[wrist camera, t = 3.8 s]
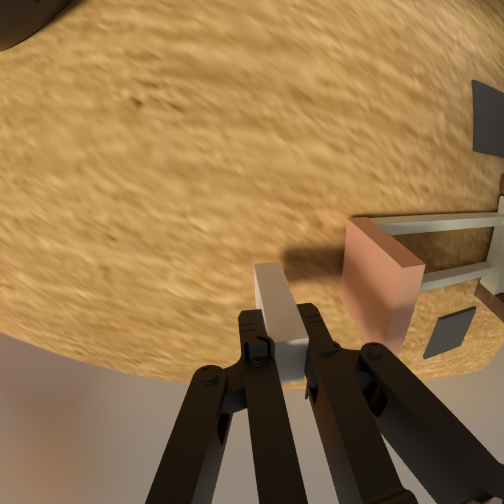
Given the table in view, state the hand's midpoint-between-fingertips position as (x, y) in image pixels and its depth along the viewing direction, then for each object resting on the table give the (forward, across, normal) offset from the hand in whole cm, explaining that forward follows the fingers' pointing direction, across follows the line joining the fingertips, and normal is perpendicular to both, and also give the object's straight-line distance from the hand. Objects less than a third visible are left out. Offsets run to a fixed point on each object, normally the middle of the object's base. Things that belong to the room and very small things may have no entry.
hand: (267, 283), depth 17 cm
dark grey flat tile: (+2, +20, -11) cm, 23 cm away
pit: (+2, +20, +11) cm, 23 cm away
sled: (+1, +18, 0) cm, 18 cm away
